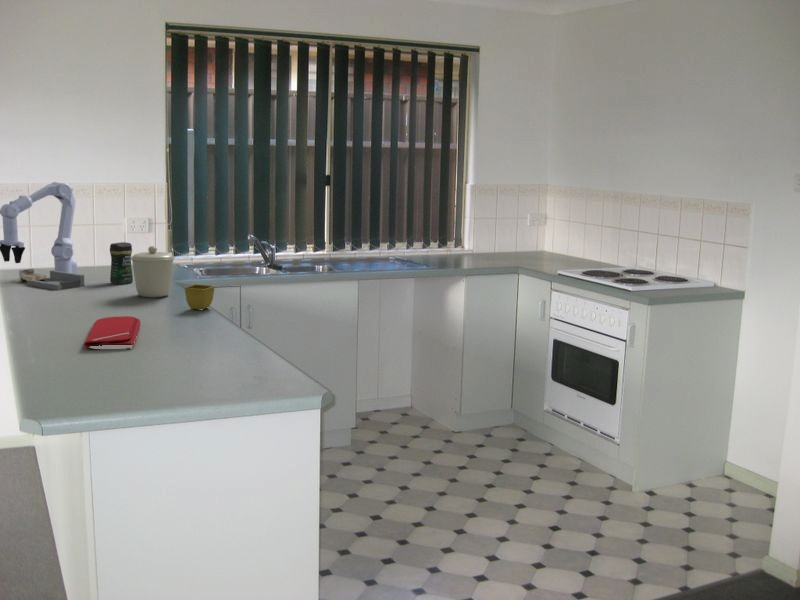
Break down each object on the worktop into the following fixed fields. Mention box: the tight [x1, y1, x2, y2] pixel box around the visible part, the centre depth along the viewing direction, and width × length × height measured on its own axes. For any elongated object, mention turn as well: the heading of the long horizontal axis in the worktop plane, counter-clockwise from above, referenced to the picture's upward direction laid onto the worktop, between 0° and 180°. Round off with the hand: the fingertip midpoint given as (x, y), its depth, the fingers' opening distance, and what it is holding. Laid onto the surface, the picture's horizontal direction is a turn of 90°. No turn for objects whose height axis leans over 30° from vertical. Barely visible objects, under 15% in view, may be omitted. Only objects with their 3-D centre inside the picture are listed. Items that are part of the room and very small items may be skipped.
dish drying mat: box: [83, 316, 141, 348], centre depth 302 cm, size 16×41×4 cm, turn 13°
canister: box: [130, 245, 176, 299], centre depth 373 cm, size 18×18×21 cm
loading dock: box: [26, 269, 85, 291], centre depth 392 cm, size 14×20×6 cm
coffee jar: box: [109, 241, 134, 285], centre depth 401 cm, size 10×8×19 cm
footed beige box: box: [18, 268, 47, 283], centre depth 400 cm, size 8×9×5 cm
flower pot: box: [184, 283, 215, 310], centre depth 349 cm, size 9×9×9 cm
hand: (12, 262), depth 393 cm, fingers open, 7 cm apart
